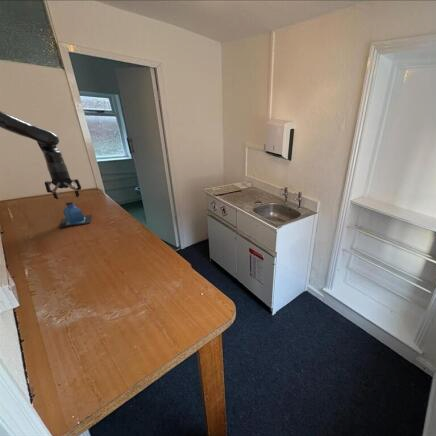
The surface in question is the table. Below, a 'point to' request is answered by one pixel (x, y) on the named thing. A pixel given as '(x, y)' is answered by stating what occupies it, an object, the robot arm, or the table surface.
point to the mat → (67, 224)
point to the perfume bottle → (72, 213)
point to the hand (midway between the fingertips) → (67, 197)
